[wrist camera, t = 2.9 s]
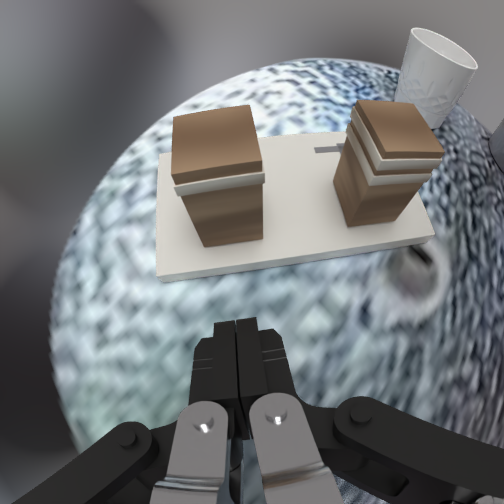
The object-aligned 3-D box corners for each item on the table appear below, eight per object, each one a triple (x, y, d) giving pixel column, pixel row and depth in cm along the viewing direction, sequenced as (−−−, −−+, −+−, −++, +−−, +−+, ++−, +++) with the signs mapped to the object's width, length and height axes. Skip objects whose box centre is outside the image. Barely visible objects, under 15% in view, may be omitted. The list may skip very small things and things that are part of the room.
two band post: (396, 221, 20) (446, 153, 12) (346, 228, 19) (385, 153, 12) (378, 176, 21) (413, 102, 14) (331, 179, 21) (354, 98, 14)
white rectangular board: (426, 242, 21) (435, 234, 19) (163, 282, 20) (156, 275, 19) (382, 141, 25) (387, 130, 23) (163, 164, 24) (158, 153, 23)
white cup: (376, 97, 28) (396, 27, 19) (411, 86, 29) (432, 27, 20) (425, 141, 25) (462, 71, 16) (455, 124, 26) (486, 67, 17)
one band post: (264, 239, 19) (265, 161, 12) (202, 249, 19) (168, 177, 12) (255, 188, 21) (251, 103, 14) (199, 196, 21) (171, 116, 14)
